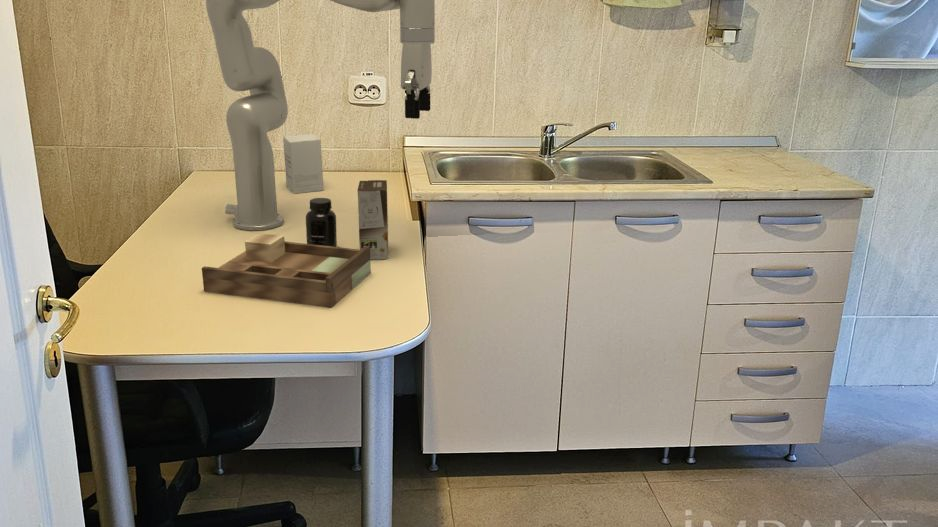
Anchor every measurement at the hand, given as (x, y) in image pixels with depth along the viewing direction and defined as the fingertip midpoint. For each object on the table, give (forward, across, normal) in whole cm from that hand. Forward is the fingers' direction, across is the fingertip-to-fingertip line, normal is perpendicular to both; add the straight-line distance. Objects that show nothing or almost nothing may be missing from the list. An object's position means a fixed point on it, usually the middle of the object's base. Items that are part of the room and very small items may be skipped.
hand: (418, 114), depth 195 cm
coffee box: (+31, +10, -8) cm, 33 cm away
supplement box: (+31, -39, -44) cm, 67 cm away
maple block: (+27, +25, -27) cm, 46 cm away
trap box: (+30, +31, -20) cm, 48 cm away
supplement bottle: (+31, +11, -20) cm, 38 cm away
